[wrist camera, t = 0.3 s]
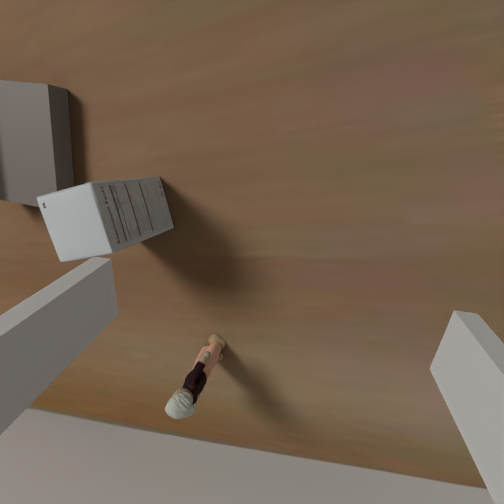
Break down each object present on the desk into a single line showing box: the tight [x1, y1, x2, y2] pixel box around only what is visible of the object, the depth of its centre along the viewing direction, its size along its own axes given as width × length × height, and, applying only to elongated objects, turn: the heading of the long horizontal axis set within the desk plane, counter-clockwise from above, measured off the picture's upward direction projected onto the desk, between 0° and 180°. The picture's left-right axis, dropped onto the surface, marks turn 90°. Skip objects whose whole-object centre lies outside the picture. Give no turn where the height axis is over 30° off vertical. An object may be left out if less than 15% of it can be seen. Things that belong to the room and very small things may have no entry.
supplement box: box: [37, 177, 174, 262], centre depth 36 cm, size 7×7×13 cm
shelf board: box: [0, 80, 74, 207], centre depth 41 cm, size 16×12×5 cm
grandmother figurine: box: [165, 334, 226, 419], centre depth 40 cm, size 8×4×13 cm, turn 176°
